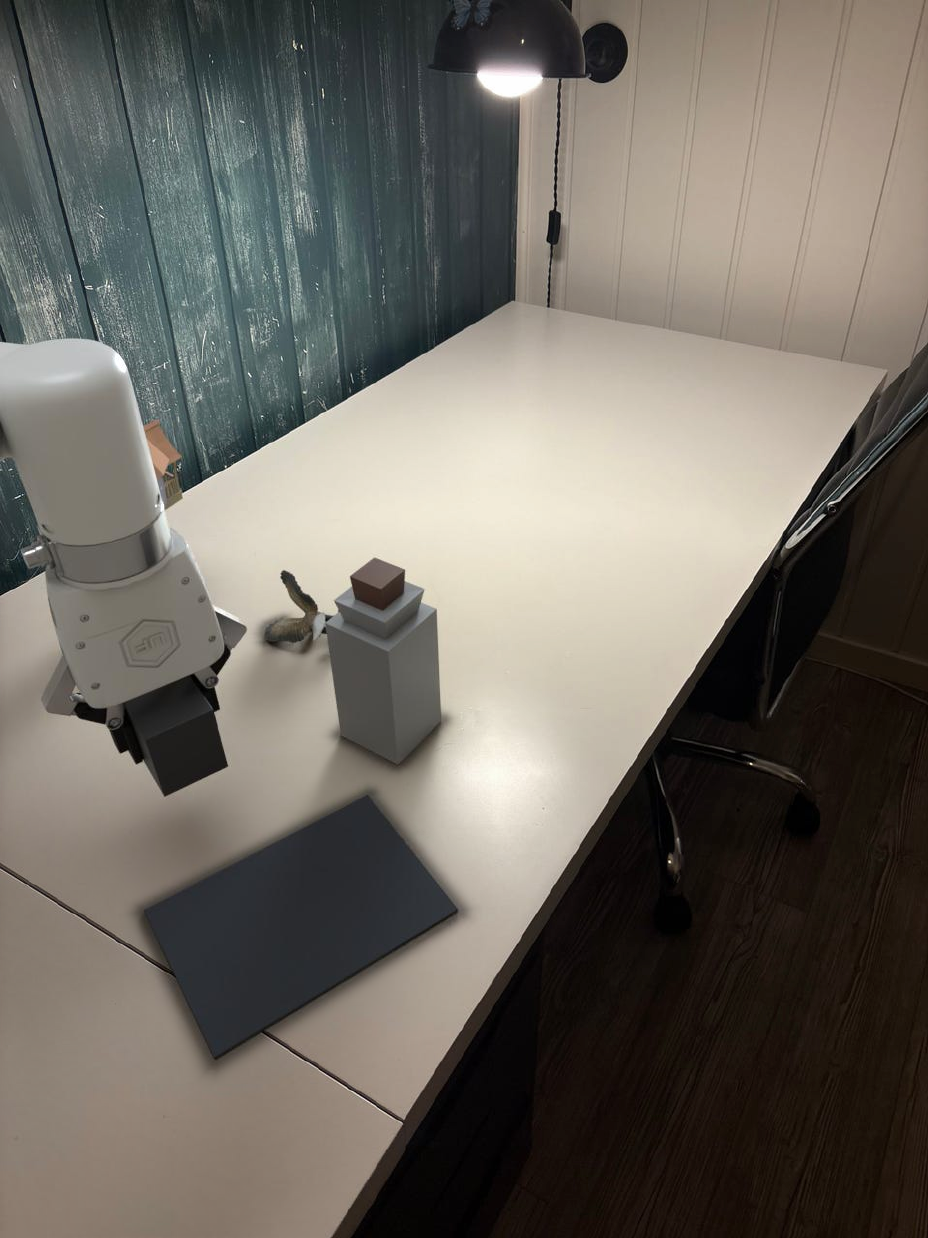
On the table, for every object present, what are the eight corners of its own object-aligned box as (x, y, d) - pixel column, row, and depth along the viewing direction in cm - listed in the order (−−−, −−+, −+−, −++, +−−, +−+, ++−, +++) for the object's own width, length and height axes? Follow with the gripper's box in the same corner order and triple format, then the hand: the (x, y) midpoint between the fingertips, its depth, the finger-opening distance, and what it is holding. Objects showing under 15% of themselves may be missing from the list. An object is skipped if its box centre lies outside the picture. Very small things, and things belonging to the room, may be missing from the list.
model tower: (225, 589, 104) (168, 330, 85) (151, 642, 97) (72, 373, 78) (165, 564, 108) (98, 312, 89) (90, 613, 101) (1, 350, 82)
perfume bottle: (441, 720, 87) (434, 565, 76) (398, 765, 83) (384, 607, 72) (385, 693, 90) (371, 541, 79) (340, 735, 86) (319, 579, 75)
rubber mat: (215, 1059, 62) (214, 1057, 62) (144, 912, 71) (143, 910, 71) (458, 911, 71) (458, 909, 71) (367, 796, 80) (367, 794, 80)
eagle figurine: (362, 605, 99) (287, 579, 101) (353, 584, 93) (272, 556, 94) (336, 669, 97) (259, 642, 99) (324, 652, 91) (241, 623, 92)
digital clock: (230, 765, 69) (215, 708, 65) (164, 797, 66) (144, 739, 63) (180, 692, 75) (163, 635, 71) (118, 718, 73) (98, 661, 69)
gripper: (-16, 616, 53) (74, 819, 64) (256, 520, 60) (293, 716, 72) (-44, 556, 58) (44, 754, 69) (210, 474, 65) (252, 665, 77)
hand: (170, 733), depth 70 cm, fingers closed on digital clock, 5 cm apart
